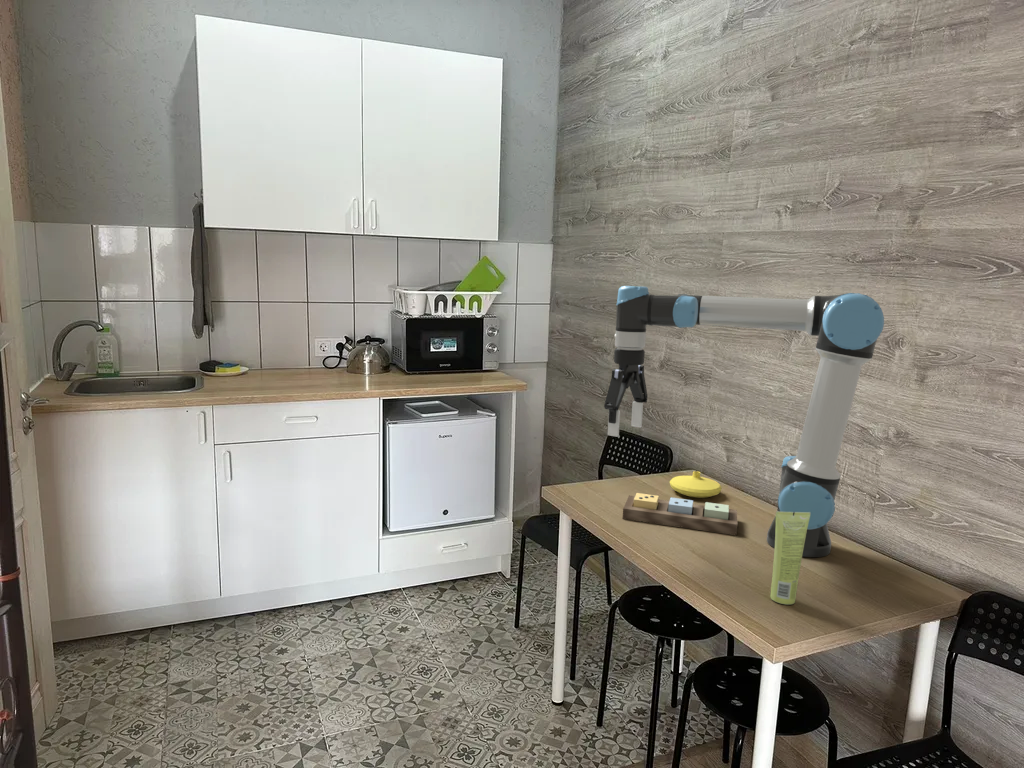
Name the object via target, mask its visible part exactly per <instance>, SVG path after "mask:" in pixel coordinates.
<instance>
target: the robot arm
mask: <svg viewBox="0 0 1024 768" xmlns="http://www.w3.org/2000/svg"><path fill="white" fill-rule="evenodd" d="M616 300H617V301H616V304H615V305H616V311H615V312H616V314H615V315H616V317H615V333H614V336H613V337H614V339H615V340H614V346H615V347H616V348H615V349H614V350H613V353H614V354H613V362H614V364H617V365H618V369H616V368H614V369H611V370H612V371H611V379H610V382H609V386H608V389H607V392H606V393H607V394H606V398H605V401H604V404H603V405H604V406H603V407H604V409H605V410H608V418H607V419H608V420H607V421H608V422H607V436H611V437H617V438H618V437H619V436H620V424H621V423H620V421H621V410H620V409H619V408H620V406H621V403H622V400H623V398H624V396H625V394H626V390H627V389H628V388H629V389H630V391H631V395H632V398H633V400H634V401H632V404H631V422H630V427H635V428H640V429H641V428H642V427H643V413H644V412H643V410H644V409H643V408H644V403H647V402H648V391H647V384H646V376H645V366H644V364H645V353H646V351H645V349H644V348H645V347H646V338H647V326H658V327H673V328H680V329H682V328H693V327H695V326H696V325H697V326H698V325H700V326H713V327H714V326H715V327H733V328H748V329H749V328H750V329H766V330H768V329H769V330H781V331H782V330H785V331H799V332H806V333H807V334H808V335H809V336H813V337H815V336H816V337H817V341H816V345H815V351H816V352H817V353H818V355H819V357H820V359H819V362H818V368H817V370H816V371H817V372H816V375H815V380H814V383H813V386H812V391H811V396H810V399H809V403H808V407H807V410H806V415H805V420H804V421H803V422H804V423H803V427H802V430H801V431H802V432H801V435H800V439H799V443H798V447H797V452H796V455H787V456H785V457H784V458H783V461H782V464H781V475H780V483H779V492H778V499H777V509H776V511H779V512H810V519H809V523H808V528H807V533H806V538H805V543H804V548H803V554H802V558H803V557H804V558H821V557H826V556H828V555H830V554H831V548H832V540H831V536H830V531H829V526H828V523H829V522H830V520H831V519H832V517H833V515H834V513H835V510H836V506H835V505H836V503H835V500H836V495H837V492H838V487H839V484H840V481H841V480H840V479H841V473H840V471H838V469H837V468H836V465H837V462H838V458H839V454H840V450H841V446H842V443H843V440H844V435H845V432H846V428H847V424H848V421H849V416H850V413H851V408H852V404H853V402H854V397H855V393H856V390H857V386H858V382H859V379H860V376H861V371H862V367H863V366H864V365H865V364H867V363H868V362H870V361H871V360H872V359H873V355H874V352H875V347H876V345H877V340H878V338H879V337H880V336H881V334H882V332H883V329H884V326H885V317H884V313H883V310H882V308H881V306H880V304H879V303H878V302H877V301H876V300H874V298H872V297H870V296H868V295H867V294H862V293H858V292H857V293H855V292H848V293H847V292H846V293H841V294H836V295H835V294H833V295H812V296H811V297H810V298H809V299H800V298H799V299H798V298H797V299H796V298H794V299H793V298H774V297H773V298H771V297H748V296H747V297H745V296H744V297H743V296H723V295H722V296H719V295H699V294H697V295H696V294H695V295H694V294H693V295H692V294H687V293H686V294H683V293H680V294H674V295H669V294H668V295H664V294H663V295H662V294H661V295H657V294H650V292H649V287H648V286H642V285H641V286H638V285H636V286H634V285H622V286H620V287H619V288H618V292H617V299H616ZM775 531H776V515H775V516H774V518H773V520H772V522H771V524H770V526H769V528H768V530H767V536H766V542H767V543H768V545H770V546H771V547H772V548H773V549H775Z"/></svg>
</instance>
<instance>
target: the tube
mask: <svg viewBox="0 0 1024 768" xmlns="http://www.w3.org/2000/svg"><path fill="white" fill-rule="evenodd" d="M775 516H776V531H775V548H773V549H774V552H773V562H772V575H771V577H772V578H771V585H770V595H769V596H770V599H771V600H772V601H773V602H775V603H778V604H781V605H786V606H787V605H788V606H789V605H793V604H795V603H796V597H797V591H798V586H799V585H798V584H799V577H800V576H799V575H800V571H801V566H802V560H803V559H802V558H803V556H802V554H803V548H804V543H805V538H806V533H807V528H808V523H809V519H810V512H779V511H777V510H776V512H775Z"/></svg>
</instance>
